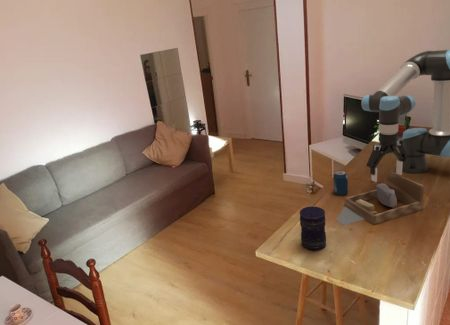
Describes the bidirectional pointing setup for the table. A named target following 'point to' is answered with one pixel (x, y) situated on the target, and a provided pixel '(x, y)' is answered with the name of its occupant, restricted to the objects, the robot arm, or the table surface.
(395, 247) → the table surface
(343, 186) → the soda can
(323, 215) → the storage jar
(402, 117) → the grey red bottle
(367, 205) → the offcut short
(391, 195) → the stone block
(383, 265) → the table surface
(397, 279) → the table surface
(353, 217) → the mat
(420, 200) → the wooden tray
